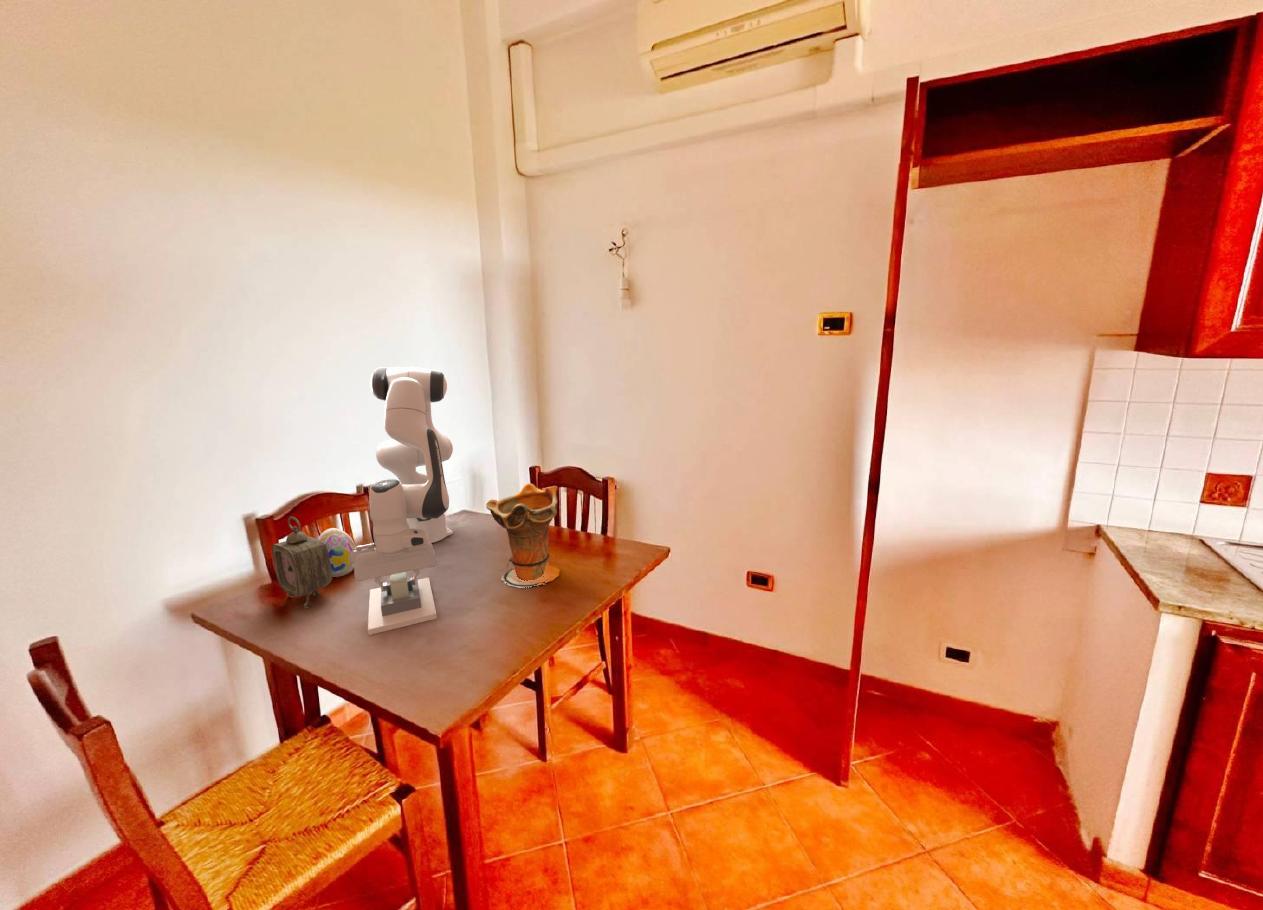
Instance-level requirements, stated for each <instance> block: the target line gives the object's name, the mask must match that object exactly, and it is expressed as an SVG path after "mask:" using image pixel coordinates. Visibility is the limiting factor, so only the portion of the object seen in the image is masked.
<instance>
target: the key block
mask: <svg viewBox="0 0 1263 910" xmlns="http://www.w3.org/2000/svg"><path fill="white" fill-rule="evenodd" d="M389 577H390V578H389V581H390V582H389V583H390V586H391V593H392V600H393V601H395V600H399V599H404V598H408V597H409V591H408V584H407V579H408V578H407V572H403V573H398V574H393V575H389Z"/></svg>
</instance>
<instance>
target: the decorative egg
mask: <svg viewBox="0 0 1263 910" xmlns="http://www.w3.org/2000/svg"><path fill="white" fill-rule="evenodd" d="M317 539H318V540H320V541H322V542H324V543H325V544H326V546H327V549H328V553H329V558H330V563H331V570H332V577H336V578H340V576H341V577H343V576H346V575H348V574H350V573H351V572H352V571H354V563H353V562H352V561H351V557H350V552H351V551H352V550H353V549H354V548H356V547H357V546H356V544H355V542H354V540H353V538H352V537H351V536H350V535H349V534H348V533H346V532H345V531H344V530H342V529H339V528H335V527H329V528H327V529H326V530H324V531H323V532H322V533H321V534H320V535H319V536H318V538H317ZM354 551H355V550H354Z"/></svg>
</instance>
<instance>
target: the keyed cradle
mask: <svg viewBox="0 0 1263 910" xmlns="http://www.w3.org/2000/svg"><path fill="white" fill-rule="evenodd" d="M416 581H417V584H416V585H411V580H410V578H409V579H408V578H407V584H408V591H409V597H408V598H404V599H399V600H395V601H393V600H392V593H391V586H390V582H387V588H388V590H387V591H383V592H382V591H381V586H379V587H376V588H371V589H369V601H368V603H369V604H368V618H367V619H368V620H367V634H368V636H370V635H374V634H379V633H383V632H387V631H391V630H392V631H393V630H395V629H400V628H402V627H403V628H404V627H407V626H412V625H416V624H420V623H423V622H424V623H425V622H427V621H432V620H436V619H437V617H438V616H437V611H436V605H435V600H434V597H433V592H432V586H431V582H430V577H423V578H420V579H418V578H417V579H416Z"/></svg>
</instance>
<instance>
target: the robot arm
mask: <svg viewBox="0 0 1263 910" xmlns="http://www.w3.org/2000/svg"><path fill="white" fill-rule="evenodd" d="M370 377H371V378H370V382H369V385H370V388H371V391H372V395H373V396H374V397H375V398H377V399H378V400H380V401H384V402H385V404H384V413H383V415H384V416H383V417H384V418H383V422H384V423H383V425H384V430H385V432H386V434H387V435H388V437H390V438H391V439H389V440H386V441H383V442H380V443H379V444H378V446H377V448H376V450H375V458H376V461H377V463H378V464H379V465H380V467H382V468H383V469H385V470H387V471H388V472H390V473H392V474H393V475H395V476H396V478H397V479H395V478H385V479H381V480H379V481H376V482H375V483H373V484H372V485H370V488H369V492H368V495H369V496H368V503H369V505H368V506H369V513H370V519H371V521H372V523H373V527H372V528H373V529H372V533H373V535H372V536H373V541H374V542H373V543H369V544H364V545H357V546H356V548H354V549H353V550H352V551H351V552H350V557H351V561H352V562H353V563H354V569H353V573H354V579H355V580H356V581H357V582H361V581H362V582H363V581H368V580H372V579H374V582H375V583H376V584H377V585H378V586H379V587H381V591H382V592H383V591H387V590H388V588H387V584H388V582H383V581H382V577H383V578H384V577H387V576H390V575H393V574H398V573H403V572H406V573H408V572H412V571H413V576H411V577H410V578H409V579H410V580H411V585H416V584H417V581H416V579H417V580H418V577H419V575H420V570H422V569H428V568H432V567H434V566H436V563H437V559H436V553H435V550H434V547H433V544H432V543H436V542H439V541H441V540H443V539H445V538H447V537H448V536H451V535H453V530H452V529H450V527H449V526H448V525H447V521H446V519H447V518H446V515H445V513H447V511H448V510H449V508H450V507H449V506H450V496H449V493H448V489H447V484H446V480H445V473H444V468H443V463H444V462H446V461H448V460H450V459H451V456H452V454H453V453H454V452H453V451H454V450H453V449H454V447H453V443H452V441H451V439H450V438H449V437H448V436H447V435H445V434H444V433H441V432H439V431H438V430H437V429H436V428H435V426H434V423H433V419H432V418H433V417H432V405H431V404H432V403H438V402H441V401H442V400H443V399H444V397H445V395H446V393H447V390H448V383H447V379H446V377H445V374H443V372H442V371H440V370H436V369H427V368H421V367H414V366H410V367H407V366H406V367H405V366H404V367H402V366H401V367H400V366H396V367H388V366H381V367H377V368H375V369H374V371H372V374H371V376H370ZM421 466H425V472H426V474H423V473H420V472H418V471H417V467H421ZM354 550H355V551H354Z"/></svg>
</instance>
